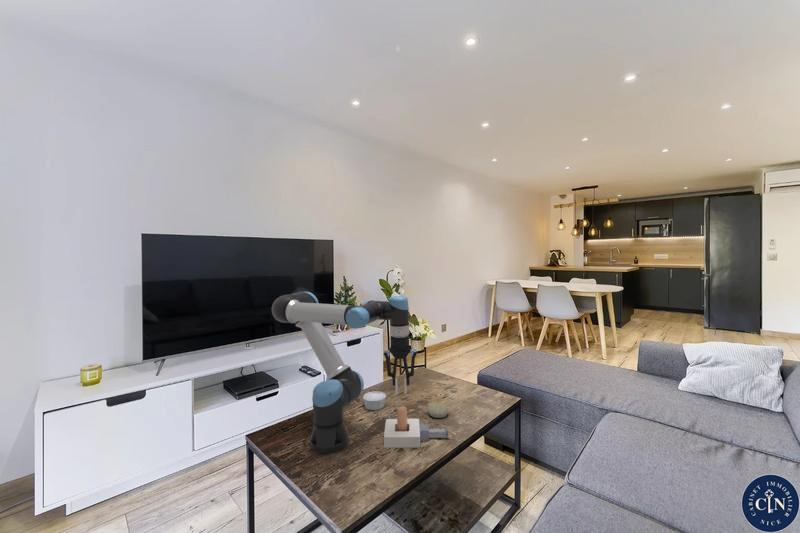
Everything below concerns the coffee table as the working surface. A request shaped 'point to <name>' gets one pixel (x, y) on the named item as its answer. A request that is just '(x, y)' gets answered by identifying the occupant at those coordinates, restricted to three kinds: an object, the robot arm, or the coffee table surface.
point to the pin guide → (424, 432)
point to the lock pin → (438, 433)
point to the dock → (402, 434)
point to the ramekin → (374, 400)
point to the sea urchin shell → (437, 410)
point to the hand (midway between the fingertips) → (401, 392)
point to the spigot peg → (402, 419)
